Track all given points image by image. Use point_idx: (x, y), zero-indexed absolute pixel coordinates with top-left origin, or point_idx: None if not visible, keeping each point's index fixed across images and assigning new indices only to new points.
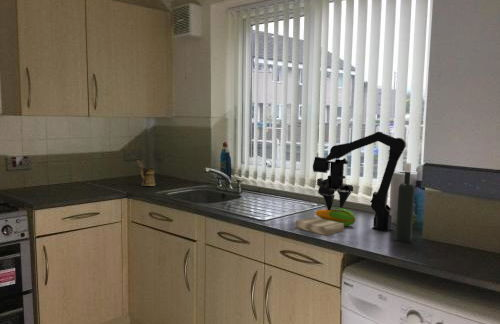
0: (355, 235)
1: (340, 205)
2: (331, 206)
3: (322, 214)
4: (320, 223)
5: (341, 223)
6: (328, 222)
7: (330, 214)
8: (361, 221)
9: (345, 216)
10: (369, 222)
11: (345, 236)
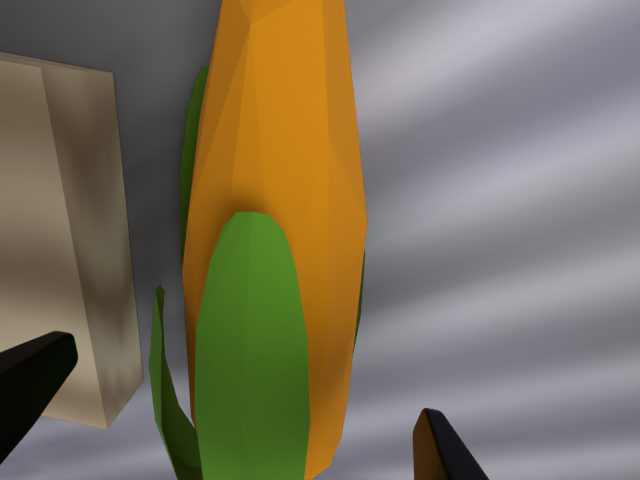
0: (115, 448)
1: (429, 442)
2: (22, 435)
3: (196, 150)
4: None
5: (93, 416)
6: (11, 334)
7: (158, 305)
8: (554, 399)
9: (185, 456)
10: (547, 446)
11: (46, 418)
